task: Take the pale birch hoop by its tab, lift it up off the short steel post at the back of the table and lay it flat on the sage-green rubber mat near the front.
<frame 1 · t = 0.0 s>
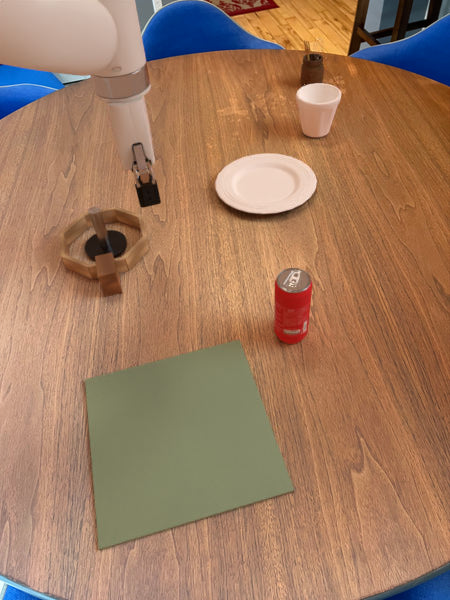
hand: (145, 186, 76), 16 cm above the table, tool pointing down, fingers open, 9 cm apart
utensil holder: (311, 85, 129), on the table
beverage can: (290, 333, 75), on the table
cup: (315, 132, 113), on the table
mat: (179, 430, 65), on the table
hoop: (106, 246, 91), on the table
post stand: (106, 246, 91), on the table
plate: (265, 189, 100), on the table
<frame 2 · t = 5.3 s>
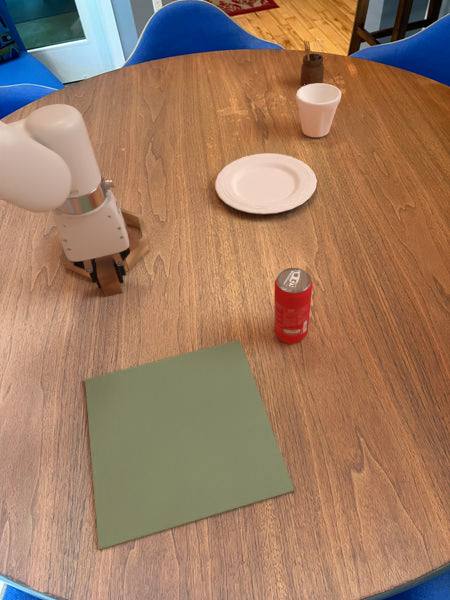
hand: (110, 279, 83), 1 cm above the table, tool pointing down, fingers closed on hoop, 3 cm apart
hoop: (106, 246, 91), on the table, touching gripper
everything else where it was.
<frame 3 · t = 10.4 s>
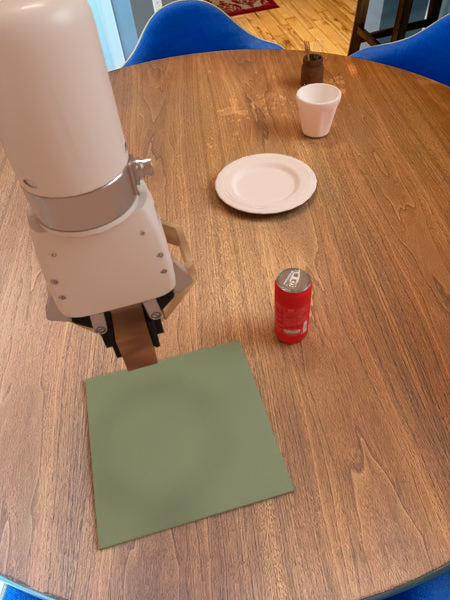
hand: (136, 340, 48), 22 cm above the table, tool pointing down, fingers closed on hoop, 3 cm apart
hoop: (124, 278, 55), point 21 cm above the table, touching gripper
everything else where it was.
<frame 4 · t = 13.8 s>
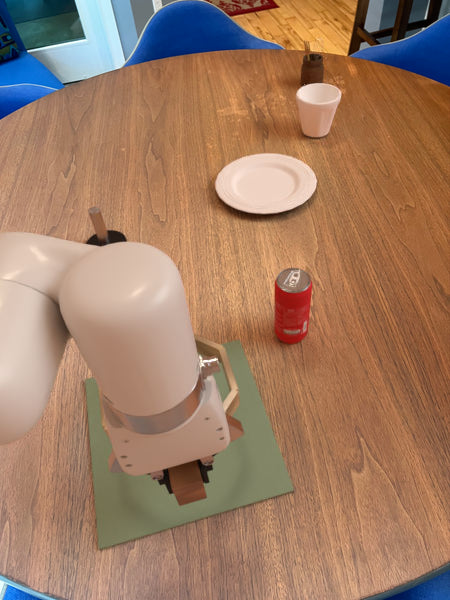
hand: (186, 474, 51), 10 cm above the table, tool pointing down, fingers closed on hoop, 3 cm apart
hoop: (170, 397, 58), point 9 cm above the table, touching gripper
everything else where it was.
when the fingers open (2 cm above the table, at t = 16.0 s): hoop stays where it is, resting on mat.
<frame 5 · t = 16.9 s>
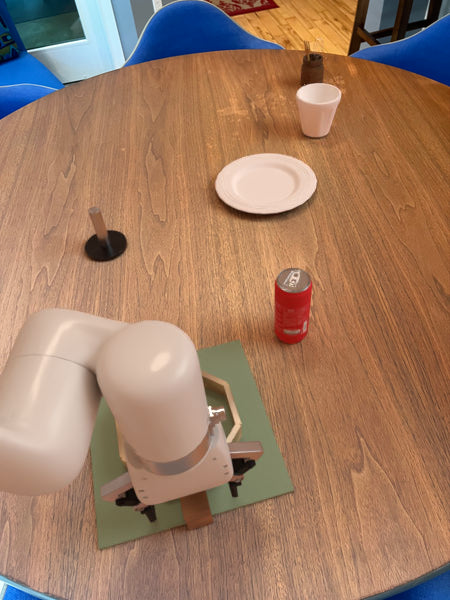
hand: (192, 496, 56), 3 cm above the table, tool pointing down, fingers open, 9 cm apart
hoop: (179, 429, 65), resting on mat
everything else where it was.
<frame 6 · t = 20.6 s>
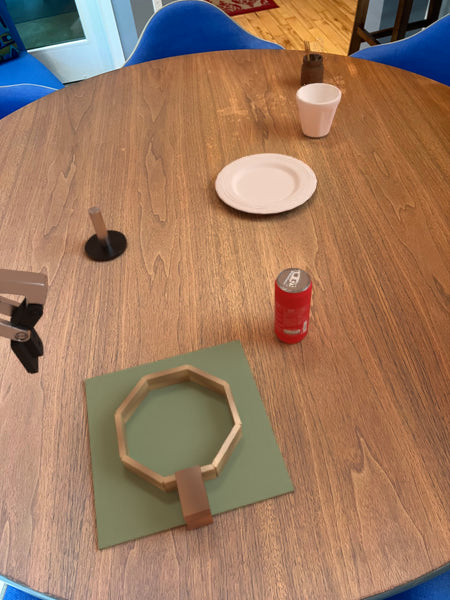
nothing on the table moved.
at the end: hoop inside the target area on the mat (0.1 cm from its centre), point 0.4 cm above the mat's base; hoop tilted 0°; the gripper is holding nothing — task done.
